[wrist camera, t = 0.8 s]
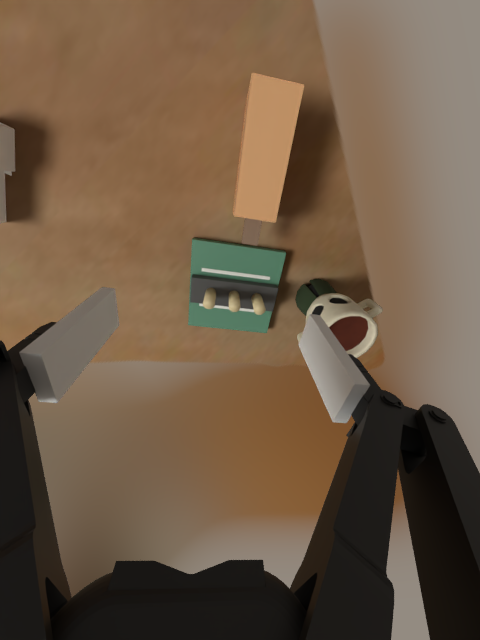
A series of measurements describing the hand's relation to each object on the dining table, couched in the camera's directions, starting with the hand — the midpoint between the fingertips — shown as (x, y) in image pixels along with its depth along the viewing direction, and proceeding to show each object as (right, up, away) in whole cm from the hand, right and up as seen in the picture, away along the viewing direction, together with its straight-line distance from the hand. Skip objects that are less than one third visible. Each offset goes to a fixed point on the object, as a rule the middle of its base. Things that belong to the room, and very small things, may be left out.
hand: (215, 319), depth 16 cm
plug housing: (+4, +18, +14) cm, 24 cm away
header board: (+1, +5, +21) cm, 22 cm away
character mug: (+14, +4, +23) cm, 27 cm away
